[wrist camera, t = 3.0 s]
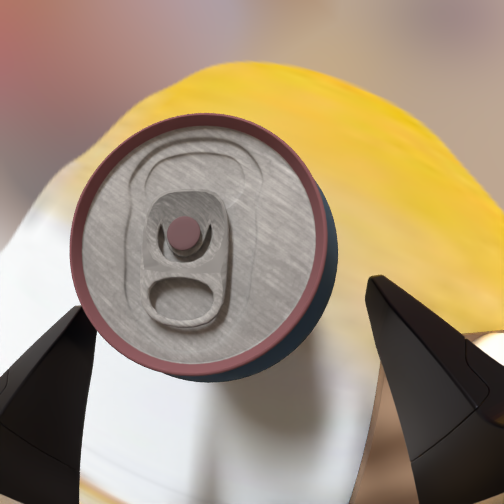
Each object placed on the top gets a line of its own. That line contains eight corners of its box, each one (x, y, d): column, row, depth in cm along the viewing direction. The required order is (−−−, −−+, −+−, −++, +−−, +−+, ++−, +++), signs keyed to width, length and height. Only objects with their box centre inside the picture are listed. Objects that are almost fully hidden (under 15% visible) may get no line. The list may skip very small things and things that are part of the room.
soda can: (188, 221, 18) (82, 112, 6) (300, 223, 18) (343, 94, 6) (182, 333, 17) (47, 372, 5) (298, 339, 17) (352, 410, 5)
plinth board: (491, 485, 12) (507, 496, 10) (340, 526, 14) (347, 549, 11) (533, 326, 15) (556, 326, 12) (383, 336, 16) (403, 341, 13)
